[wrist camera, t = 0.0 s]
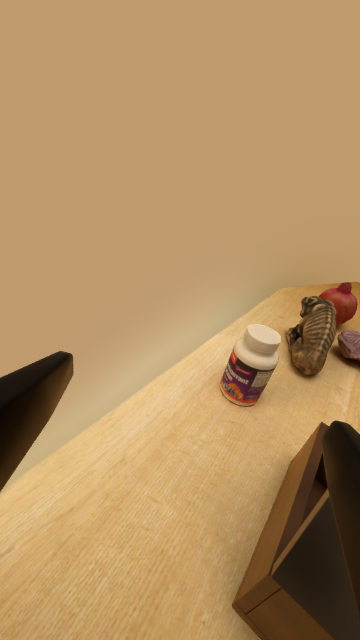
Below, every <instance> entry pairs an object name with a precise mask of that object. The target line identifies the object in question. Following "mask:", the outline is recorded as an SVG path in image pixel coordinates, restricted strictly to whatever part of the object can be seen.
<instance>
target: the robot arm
mask: <svg viewBox="0 0 360 640" xmlns="http://www.w3.org/2000/svg"><path fill="white" fill-rule="evenodd" d="M72 376H73V356H72V354H71V353H67V352H63V351H59V352H56V353H54V354H52V355H50V356H47V357H45V358H43V359H41V360H39V361H36V362H34V363H32V364H30V365H28V366H25V367H23V368H21V369H19V370H17V371H14V372H12V373H10V374H8V375H5V376H3V377H1V378H0V492H1V490H2V489H3V487H4V486H5V484H6V483H7V481H8V480H9V478H10V477H11V475H12V474H13V472H14V471H15V470H16V468H17V467H18V465H19V464H20V462H21V461H22V459H23V458H24V456H25V455H26V453H27V452H28V450H29V449H30V447H31V446H32V444H33V443H34V441H35V440H36V439H37V437H38V436H39V434H40V433H41V431H42V430H43V428H44V427H45V425H46V424H47V422H48V421H49V419H50V417H51V416H52V414H53V412H54V410H55V408H56V406H57V404H58V403H59V401H60V399H61V397H62V395H63V393H64V391H65V390H66V388H67V386H68V384H69V382H70V380H71V378H72ZM321 445H322V452H323V459H324V466H325V473H326V480H327V486H328V492H329V496H330V501H331V505H332V509H333V513H334V517H335V521H336V526H337V530H338V534H339V538H340V542H341V546H342V550H343V555H344V559H345V563H346V567H347V571H348V575H349V579H350V584H351V588H352V592H353V596H354V600H355V604H356V608H357V612H358V617H359V621H360V434H359V433H358V432H357V431H356V430H355V429H354V428H353V427H351V426H350V425H349V424H347V423H344V422H340V421H334V422H332V423H331V425H330V426H329V427H328V428H327V430H326V431H325V432H324V433H323V435H322V438H321Z"/></svg>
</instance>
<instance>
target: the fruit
mask: <svg viewBox="0 0 360 640" xmlns="http://www.w3.org/2000/svg"><path fill="white" fill-rule="evenodd" d="M351 288H352V286H351V283H347V282H345V283H342V284H341V285H340V286H339V287H338V288H331V289H328V290H326V291H324V292H323V293H322V294H321V295H320V296H319V298H321V299H323V300H329V301H331V302H332V303H333V304H334V308H335V310H336V318H335V319H336V325H338V324H342V323H345V322H346V321H348V320H350V319H351V318H352V317H353V316H354V315H355V313H356V310H357V299H356V297H355V296H354V295H353V294H352V293H351Z"/></svg>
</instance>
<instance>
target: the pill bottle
mask: <svg viewBox="0 0 360 640" xmlns="http://www.w3.org/2000/svg"><path fill="white" fill-rule="evenodd" d="M280 342H281V336H280V335H279V333H278V332H276V331H275V330H274V329H272V328H270V327H268V326H265V325H262V324H251V325H249V326H248V328H247V330H246V332H245V335H244V337H243V338H241V339H239V340H238V341H237V342H236V343H235V345H234V348H233V351H232V353H231V356H230V358H229V361H228V364H227V366H226V369H225V371H224V374H223V376H222V379H221V382H220V388H221V391H222V393H223V394H224V395H225V397H226V398H227V399H229V400H230V401H231V402H233V403H235V404H238V405H241V406H250V405H253V404H255V403H256V402H257V401H258V399H259V398H260V396H261V394H262V392H263V390H264V388H265V386H266V384H267V382H268V381H269V379H270V377H271V375H272V373H273V371H274V369H275V367H276V365H277V363H278V354H277V352H276V351H277V348H278V346H279V344H280Z"/></svg>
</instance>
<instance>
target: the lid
mask: <svg viewBox="0 0 360 640" xmlns="http://www.w3.org/2000/svg"><path fill="white" fill-rule="evenodd" d="M271 578H272V579H273V580H274V581H275V582H276V583H277V584H278V585H279V586H280V587H281V588H282V589H283V590H284V591H285V592H286V593H287V594H288V595H289V596H290V597H291V598H292V599H293V600H294V601H295V602H296V603H297V604H298V605H299V606H300V607H301V608H302V609H303V610H304V611H305V612H306V613H307V614H308V615H309V616H310V617H311V618H312V619H313V620H314V621H315V622H316V623H318V624H319V625H320V626H321V627H322V628H323V629H324V630H325V631H326V632H327V633H328V634H329V635H330V636H331V637H332V638H333V639H334V640H360V621H359V617H358V612H357V608H356V604H355V600H354V596H353V592H352V588H351V584H350V579H349V575H348V571H347V567H346V563H345V559H344V555H343V550H342V546H341V542H340V538H339V534H338V530H337V526H336V521H335V517H334V513H333V509H332V505H331V501H330V496H329V492H328V489H327V490H326V492H325V493H324V495H323V496H322V497H321V499H320V500H319V502H318V503H317V504H316V506H315V507H314V509H313V510H312V511H311V513H310V514H309V516H308V517H307V518H306V520H305V521H304V523H303V524H302V526H301V527H300V528H299V530H298V531H297V533H296V534H295V535H294V537H293V538H292V540H291V541H290V542H289V544H288V545H287V547H286V548H285V549H284V551H283V552H282V554H281V555H280V556H279V558H278V559H277V561H276V562H275V563H274V565H273V569H272V574H271Z"/></svg>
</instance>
